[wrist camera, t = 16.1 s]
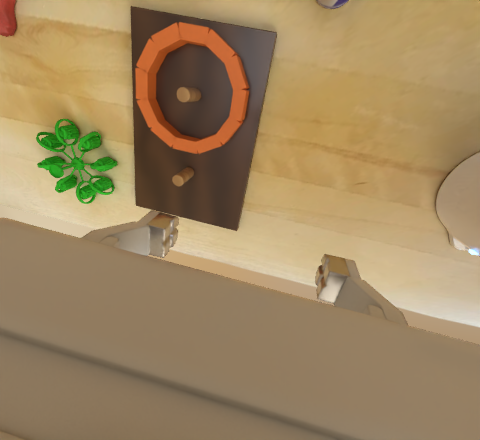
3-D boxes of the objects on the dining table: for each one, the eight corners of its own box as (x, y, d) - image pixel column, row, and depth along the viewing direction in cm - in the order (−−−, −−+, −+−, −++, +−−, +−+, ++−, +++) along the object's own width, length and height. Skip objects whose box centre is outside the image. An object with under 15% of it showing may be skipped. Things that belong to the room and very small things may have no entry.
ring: (258, 39, 33) (255, 35, 30) (237, 158, 40) (234, 162, 38) (144, 18, 34) (134, 13, 32) (145, 137, 41) (136, 140, 39)
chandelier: (36, 118, 45) (-4, 122, 39) (111, 117, 42) (81, 121, 36) (65, 197, 52) (34, 210, 46) (131, 200, 49) (108, 215, 43)
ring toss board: (277, 34, 33) (274, 23, 28) (238, 228, 47) (231, 244, 42) (135, 8, 35) (107, -7, 29) (139, 203, 49) (120, 216, 44)
